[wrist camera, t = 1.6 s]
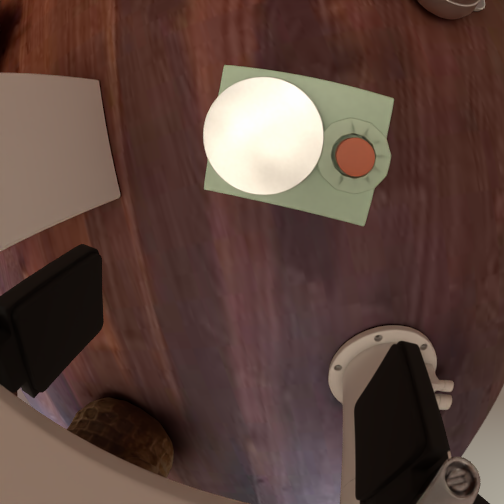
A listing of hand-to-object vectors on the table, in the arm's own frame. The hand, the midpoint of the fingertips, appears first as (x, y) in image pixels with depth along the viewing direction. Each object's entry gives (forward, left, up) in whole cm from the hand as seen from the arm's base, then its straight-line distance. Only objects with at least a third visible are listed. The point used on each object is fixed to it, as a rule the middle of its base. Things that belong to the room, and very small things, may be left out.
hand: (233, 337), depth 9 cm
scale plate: (+3, -5, -17) cm, 18 cm away
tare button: (-4, -5, -17) cm, 18 cm away
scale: (+1, -5, -20) cm, 21 cm away
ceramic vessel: (+16, +41, -21) cm, 48 cm away
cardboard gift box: (+30, +1, -21) cm, 36 cm away
